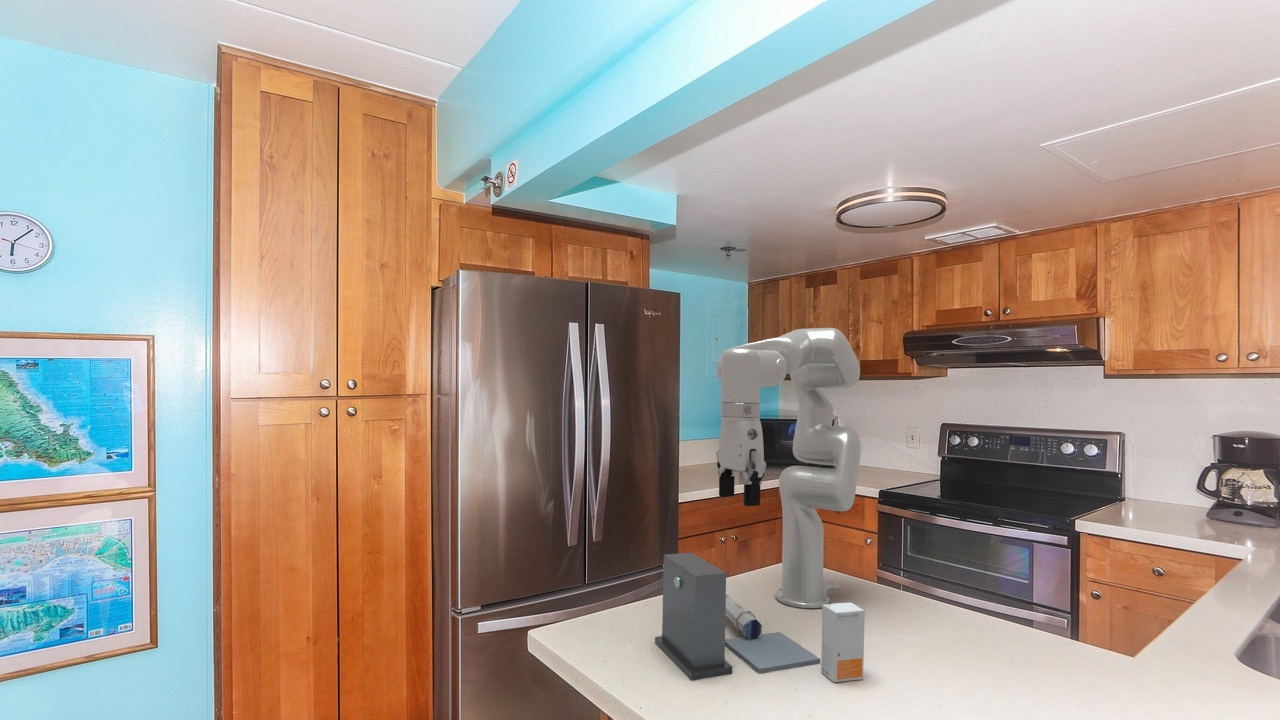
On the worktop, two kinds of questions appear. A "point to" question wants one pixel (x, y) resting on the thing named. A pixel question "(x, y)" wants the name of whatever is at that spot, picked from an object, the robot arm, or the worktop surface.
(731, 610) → the white elongated piece
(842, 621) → the skincare box
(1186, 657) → the worktop surface
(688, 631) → the mounted unit
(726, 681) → the worktop surface
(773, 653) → the slate mat
